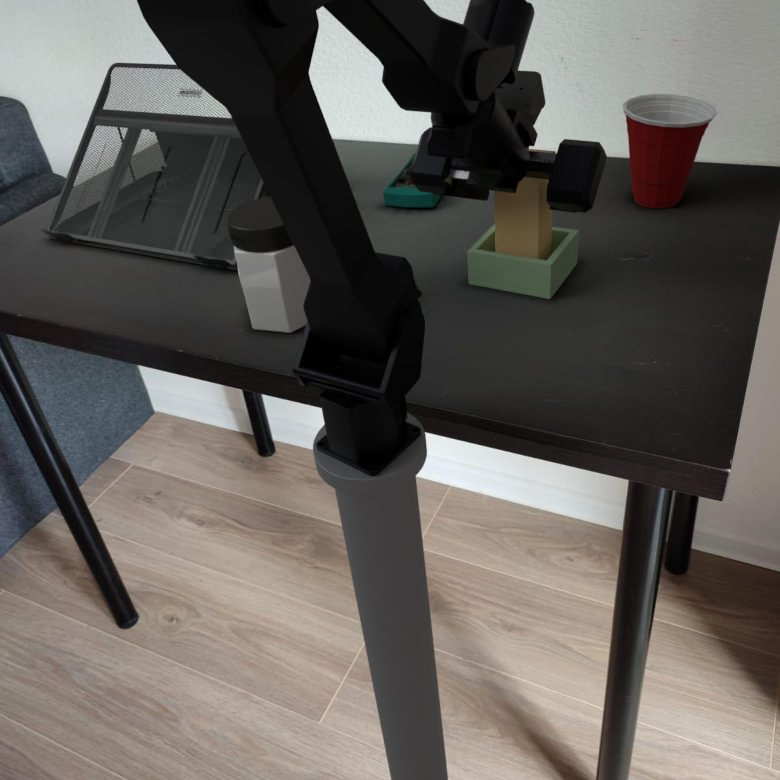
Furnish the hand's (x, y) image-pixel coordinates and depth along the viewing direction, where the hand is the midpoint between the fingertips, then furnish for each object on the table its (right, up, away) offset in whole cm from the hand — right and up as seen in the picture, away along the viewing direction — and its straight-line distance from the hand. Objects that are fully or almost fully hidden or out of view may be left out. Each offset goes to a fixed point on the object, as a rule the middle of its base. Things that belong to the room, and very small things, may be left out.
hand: (526, 201), depth 83 cm
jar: (-26, -12, +3) cm, 29 cm away
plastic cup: (+20, +4, +17) cm, 26 cm away
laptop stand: (-42, +4, +27) cm, 50 cm away
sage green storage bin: (0, -7, +4) cm, 8 cm away
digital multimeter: (-10, +8, +27) cm, 30 cm away
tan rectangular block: (0, -7, +4) cm, 8 cm away
